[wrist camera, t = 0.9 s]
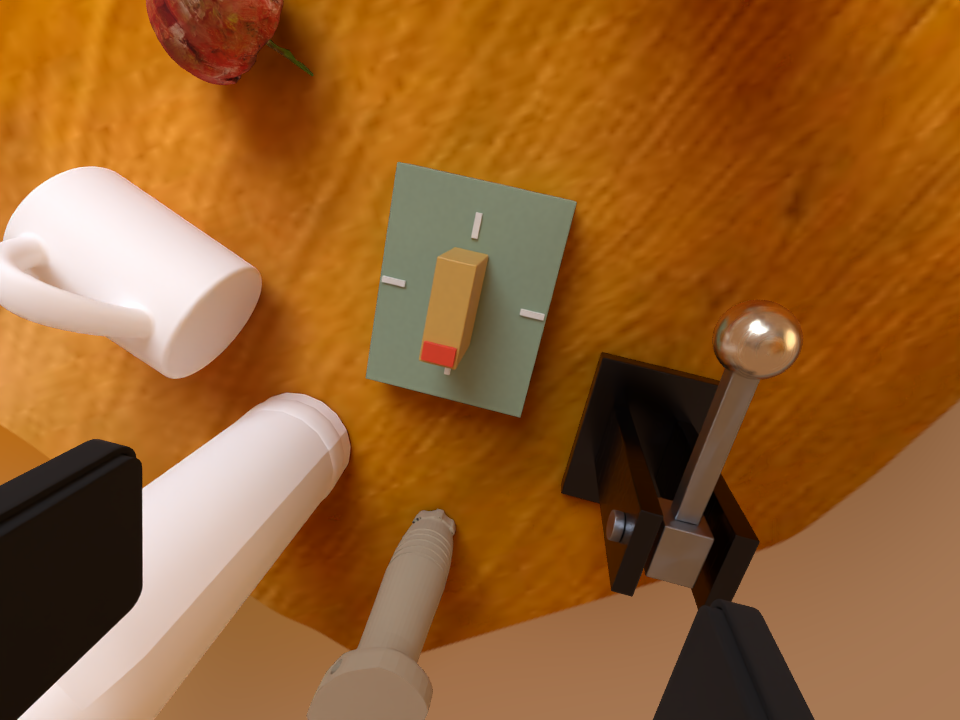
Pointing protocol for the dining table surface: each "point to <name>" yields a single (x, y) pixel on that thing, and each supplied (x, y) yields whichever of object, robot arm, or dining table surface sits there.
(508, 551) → the dining table surface
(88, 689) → the bottle
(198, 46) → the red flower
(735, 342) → the ball knob lever
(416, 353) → the plate
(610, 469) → the handle bracket
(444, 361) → the lock knob
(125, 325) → the mug
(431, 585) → the handle
